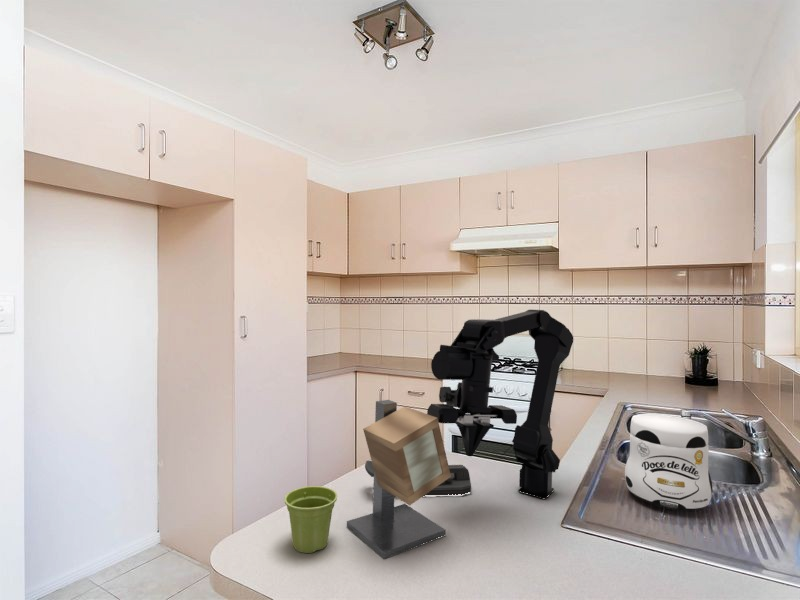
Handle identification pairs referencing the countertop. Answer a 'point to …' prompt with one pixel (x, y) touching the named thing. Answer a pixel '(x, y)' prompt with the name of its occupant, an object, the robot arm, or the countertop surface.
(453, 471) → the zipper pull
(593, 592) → the countertop surface
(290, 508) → the plant pot
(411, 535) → the post stand
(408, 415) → the cardboard box
